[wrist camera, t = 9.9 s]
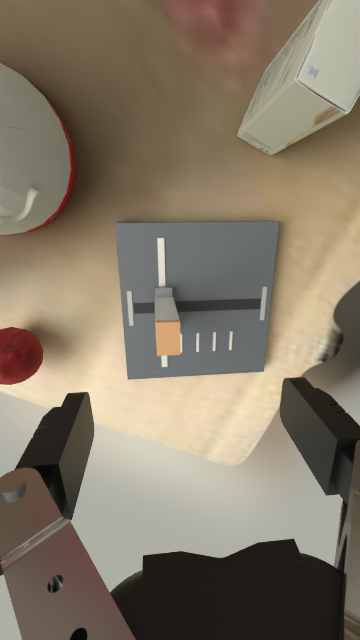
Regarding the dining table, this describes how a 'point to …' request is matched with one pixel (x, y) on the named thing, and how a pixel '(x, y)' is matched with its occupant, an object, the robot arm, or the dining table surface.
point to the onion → (18, 355)
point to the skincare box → (307, 79)
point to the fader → (166, 322)
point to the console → (198, 294)
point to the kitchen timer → (31, 157)
